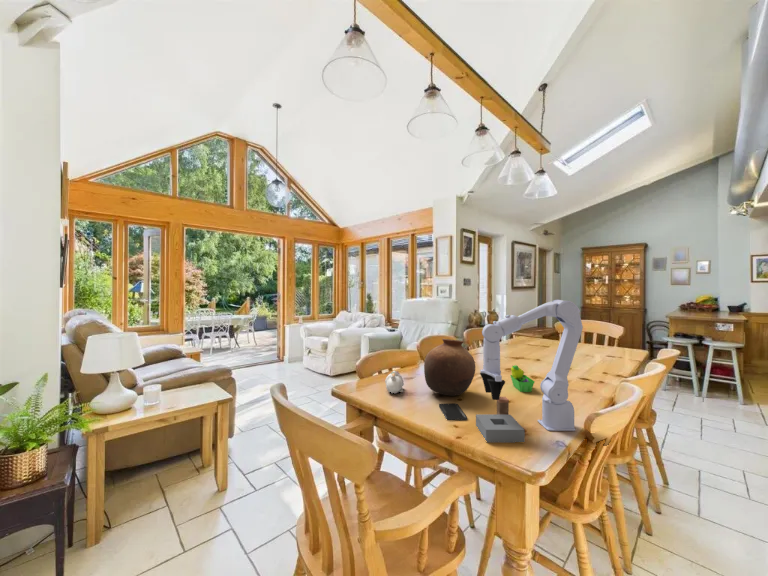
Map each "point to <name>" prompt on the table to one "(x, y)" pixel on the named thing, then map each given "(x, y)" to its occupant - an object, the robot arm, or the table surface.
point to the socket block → (500, 428)
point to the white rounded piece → (394, 382)
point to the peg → (503, 406)
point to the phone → (452, 411)
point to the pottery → (449, 368)
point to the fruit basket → (521, 380)
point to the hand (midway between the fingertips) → (492, 395)
